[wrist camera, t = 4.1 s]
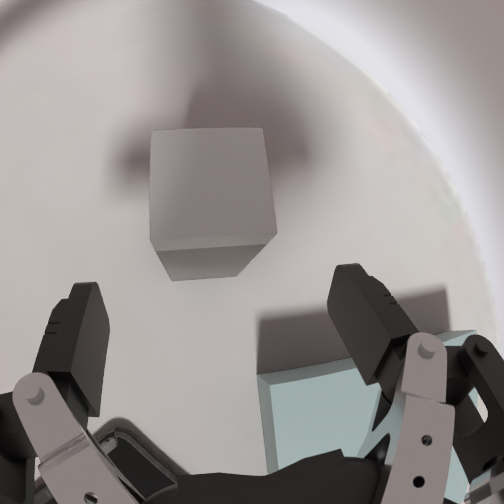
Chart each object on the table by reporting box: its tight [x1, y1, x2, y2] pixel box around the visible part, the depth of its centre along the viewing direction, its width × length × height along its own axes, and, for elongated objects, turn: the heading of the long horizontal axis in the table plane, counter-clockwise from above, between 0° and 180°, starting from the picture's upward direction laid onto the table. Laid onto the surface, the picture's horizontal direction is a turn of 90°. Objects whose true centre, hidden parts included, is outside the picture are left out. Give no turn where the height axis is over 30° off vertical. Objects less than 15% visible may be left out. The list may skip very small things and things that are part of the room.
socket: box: [257, 330, 477, 504], centre depth 17 cm, size 16×16×4 cm
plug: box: [149, 127, 277, 281], centre depth 15 cm, size 4×4×10 cm
